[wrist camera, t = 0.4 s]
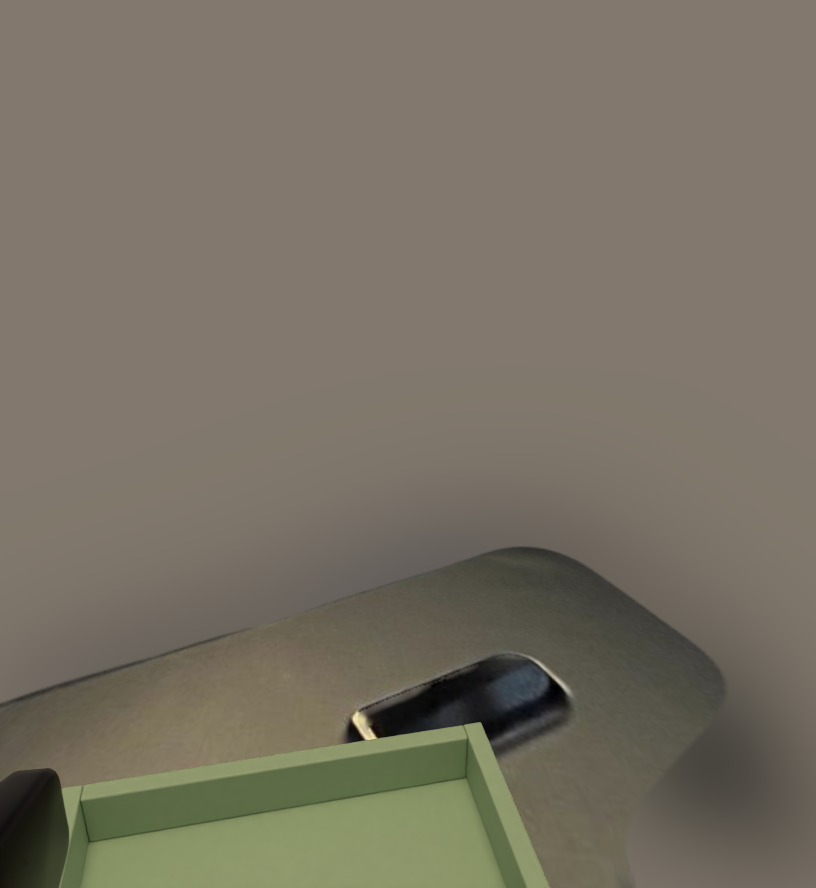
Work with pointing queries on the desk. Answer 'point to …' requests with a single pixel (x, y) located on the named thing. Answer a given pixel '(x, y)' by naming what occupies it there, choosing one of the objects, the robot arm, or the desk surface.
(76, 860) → the shallow rectangular tray
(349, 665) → the desk surface
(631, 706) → the desk surface
